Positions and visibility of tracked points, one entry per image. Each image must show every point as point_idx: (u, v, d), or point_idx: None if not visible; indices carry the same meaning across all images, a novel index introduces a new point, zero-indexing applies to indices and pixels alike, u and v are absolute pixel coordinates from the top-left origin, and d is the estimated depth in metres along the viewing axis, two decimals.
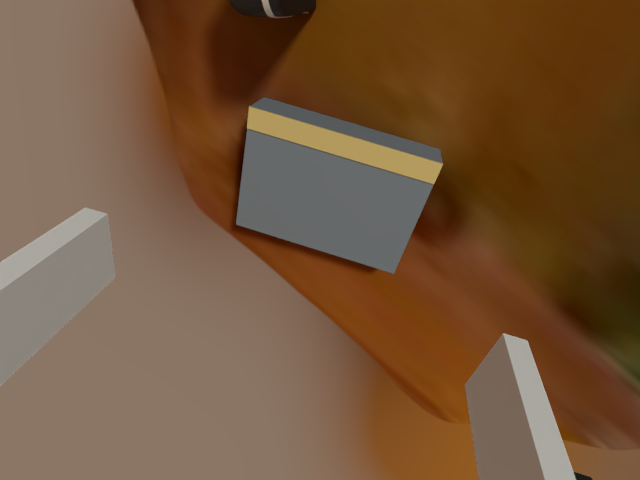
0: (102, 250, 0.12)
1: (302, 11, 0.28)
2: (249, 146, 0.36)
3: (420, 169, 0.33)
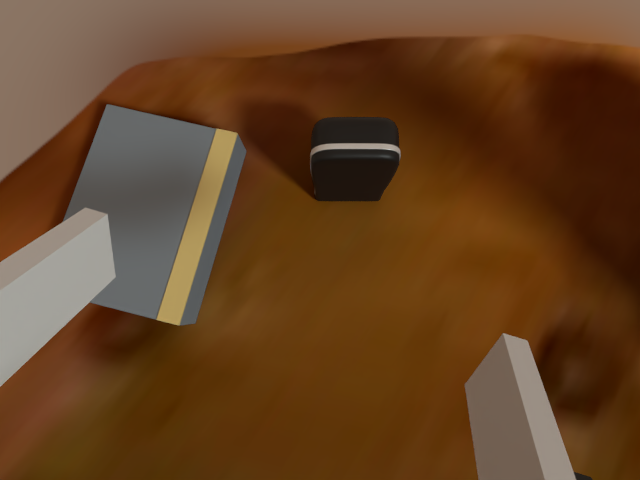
0: (102, 250, 0.12)
1: (315, 185, 0.33)
2: (197, 129, 0.35)
3: (173, 303, 0.32)
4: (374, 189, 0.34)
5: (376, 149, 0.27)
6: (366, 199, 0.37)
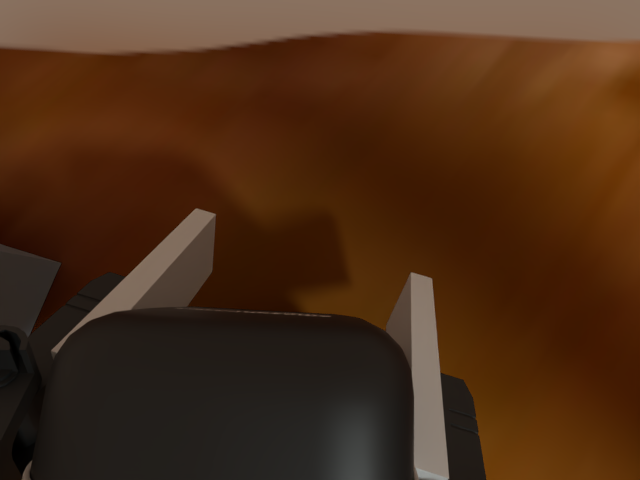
0: (209, 247, 0.13)
1: None
2: None
3: None
4: None
5: None
6: None
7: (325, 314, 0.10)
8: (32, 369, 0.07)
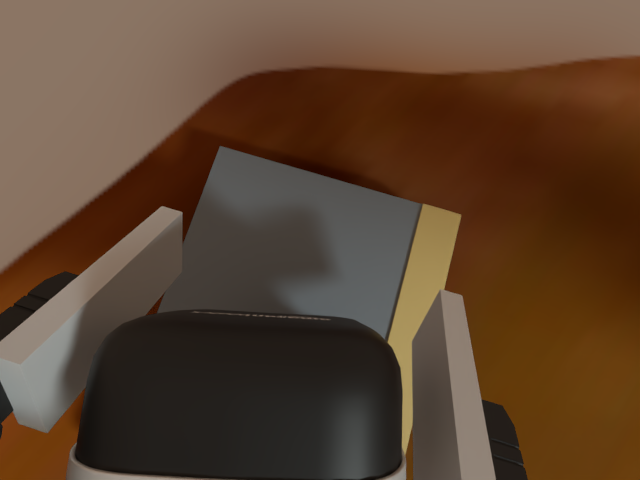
0: (175, 245, 0.13)
1: None
2: (387, 203, 0.19)
3: None
4: None
5: None
6: None
7: (325, 317, 0.11)
8: None
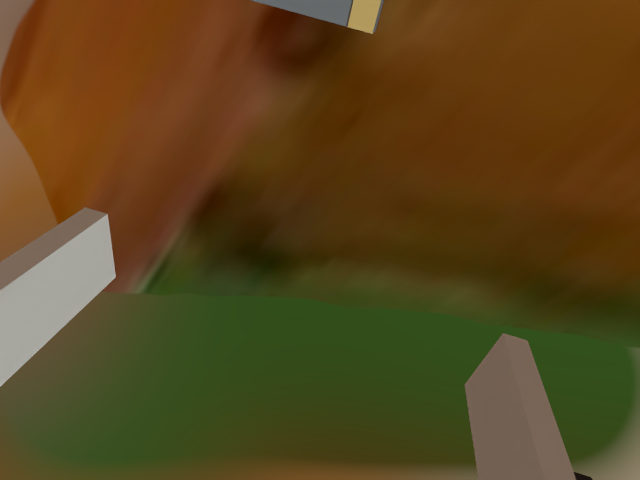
0: (102, 250, 0.12)
1: None
2: None
3: (365, 5, 0.28)
4: None
5: None
6: None
7: None
8: None
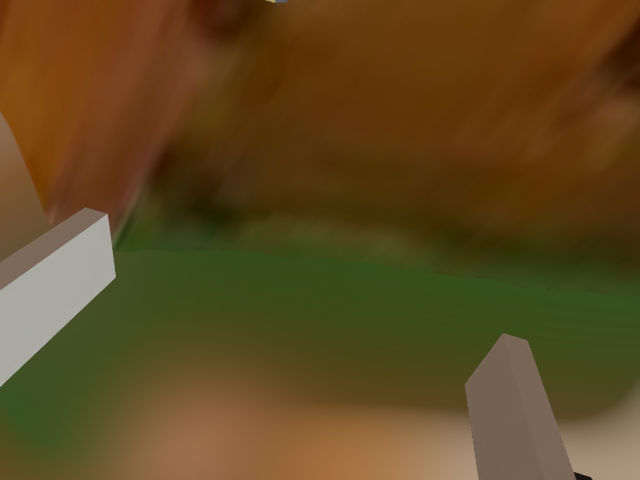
0: (102, 250, 0.12)
1: None
2: None
3: None
4: None
5: None
6: None
7: None
8: None
